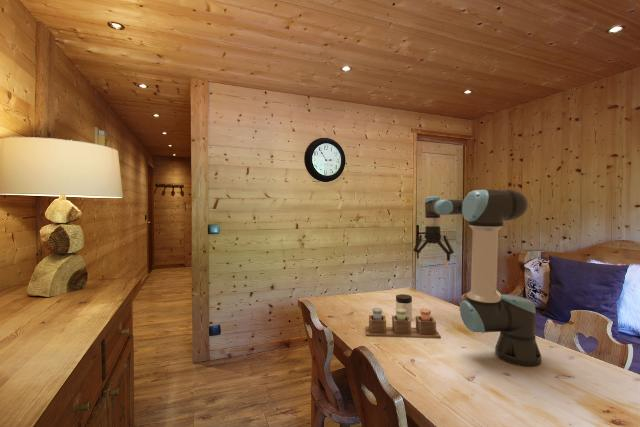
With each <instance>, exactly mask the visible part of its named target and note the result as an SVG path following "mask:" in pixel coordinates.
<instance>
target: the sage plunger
mask: <svg viewBox="0 0 640 427" xmlns="http://www.w3.org/2000/svg"><path fill="white" fill-rule="evenodd" d="M396 312H397V320H406V309H403V308H398V309H396V308H395V313H396Z"/></svg>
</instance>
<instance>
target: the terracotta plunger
mask: <svg viewBox="0 0 640 427" xmlns="http://www.w3.org/2000/svg"><path fill="white" fill-rule="evenodd" d="M419 312H420V316H421V321H430V316H431V312H432V310H431V309H430V308H429V309H428V308H421V309H420V310H419Z"/></svg>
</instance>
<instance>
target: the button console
mask: <svg viewBox="0 0 640 427" xmlns="http://www.w3.org/2000/svg"><path fill="white" fill-rule="evenodd" d="M391 317H392V318H391V319H392V321H391V322H392V324H391V326H387V319H386V315H382V320H373V314H369V315H368V324H369V325H367V326H365V336H366V337H385V338H386V337H388V338H390V337H391V338H418V339H419V338H420V339H424V338H425V339H441V338H442V336H441V334H440V333H439V332H438V330H437V321H436V320H435V319H434V317H433V316H431V315H430V321H421V315H416V316H415V327H412V320H411V321H410V319H409V317H408V316H406V320H397V316H396V315H391Z"/></svg>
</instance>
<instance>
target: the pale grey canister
mask: <svg viewBox="0 0 640 427" xmlns="http://www.w3.org/2000/svg"><path fill="white" fill-rule="evenodd" d="M371 309H372V310H371V311H372V315H373V320H382V314H383V309H382V308H380V307H374V308H371Z"/></svg>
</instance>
